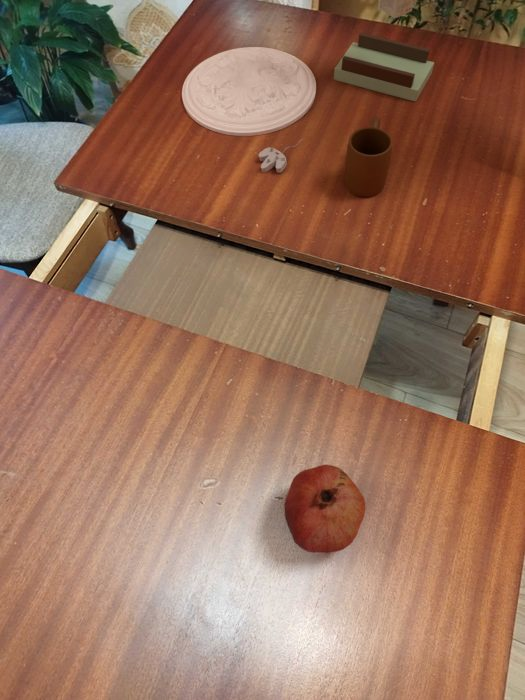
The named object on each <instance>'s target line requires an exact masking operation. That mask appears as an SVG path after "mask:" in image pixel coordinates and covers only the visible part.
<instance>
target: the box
mask: <svg viewBox="0 0 525 700" xmlns="http://www.w3.org/2000/svg"><path fill="white" fill-rule="evenodd" d="M413 5H414V0H378V9H380V10H381V11H382V12H384V13H385V14H387V15H388V16H389V17H391V18H392V19H397V18H400V17H403V16H404V15H407V14H409V13H411V12H413V8H414V7H413Z"/></svg>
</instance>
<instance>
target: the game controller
mask: <svg viewBox="0 0 525 700" xmlns="http://www.w3.org/2000/svg"><path fill="white" fill-rule="evenodd" d="M306 139H307V138H302V139H300V140H299V141H298V142H297V144H299V143H300V142H301V141H303V140H304V141H306ZM297 144H295V145H294V146H293V148H295V147H297ZM289 148H292V146H291V145H289V146H287V147H286V148H284V150H283V152H285V151H286V150H287V149H289ZM283 152H281V151H280V150H278V149H277V148H274V147H266V148H264V149H263V150H261V151H260V152H259V153H258V158H259V161H260V162H262V163H261V164H260V169H261V172H262V173H267V172H268V171H270V170H271V169H273V168H274V167H275V170H276V173H278V174H281V173H283V171H284V170H286V169H285V168H287V166H288V162H287V157H286V155H285V154H284V153H283Z"/></svg>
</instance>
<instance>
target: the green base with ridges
mask: <svg viewBox="0 0 525 700" xmlns="http://www.w3.org/2000/svg"><path fill="white" fill-rule="evenodd" d="M430 51H431V49H430V48H426V47H422V46H418V45H415V44H410V43H405V42H402V41H398V40H393V39H390V38H385V37H381V36H377V35H374V34H373V35H372V34H369V33H364V32H360V33H359V35H358V42H354V41H353V42H352V43H351V44H350V46H349V47H348V48H347V50H346V52H345V53H344V54H343V56H342V57H341V59H340V60H339V62H338V63H337V64H336V66H335V67H334V72H333V81H337V82H341V83H345V84H348V85H351V86H356V87H360V88H363V89H367V90H371V91H373V92H378V93H382V94H385V95H389V96H392V97H396V98H400V99H404V100H407V101H411V102H415V103H416V102H417V100H418V99H419V97H420V95H421V93H422V92H423V90H424V88H425V86H426V84H427V83H428V81H429V79H430V77H431V76H432V75H433V71H434V66H435V62H434V61H430V60H429V55H430Z"/></svg>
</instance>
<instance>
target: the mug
mask: <svg viewBox="0 0 525 700" xmlns="http://www.w3.org/2000/svg"><path fill="white" fill-rule="evenodd" d="M380 126H381V118H380V117H379V116H377V115H374V116H372V117H371V118H370V121H369V126H364V127H360V128H358V129H356V130H354V131H353V132H352V133H351V134H350V136H349V138H348V142H347V147H346V152H345V153H346V155H345V162H344V171H343V172H344V174H343V183H344V187H345V188H346V189H347V191H348V192H349V193H351V194H352V195H355V196H357V197H363V198H368V197H373V196H376V195H378V194H379V193H381V191H383V189H384V188H385V185H386V182H387V178H388V173H389V169H390V163H391V158H392V153H393V145H394V143H393V138H392V136H391V134H390V133H389V132H387V131H386V130H385V129H382V128H380Z"/></svg>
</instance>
